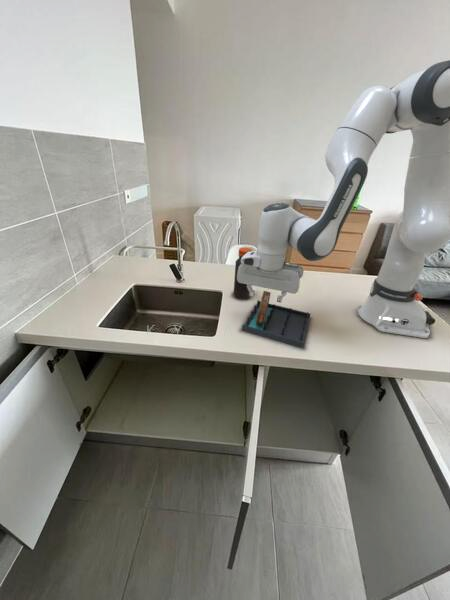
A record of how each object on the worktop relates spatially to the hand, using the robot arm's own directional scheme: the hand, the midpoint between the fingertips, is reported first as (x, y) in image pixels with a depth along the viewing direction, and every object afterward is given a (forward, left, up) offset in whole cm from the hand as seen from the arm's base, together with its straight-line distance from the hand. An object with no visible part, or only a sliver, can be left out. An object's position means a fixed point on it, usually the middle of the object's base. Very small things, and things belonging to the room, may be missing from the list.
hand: (265, 298), depth 82 cm
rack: (-5, 0, -9) cm, 11 cm away
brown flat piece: (0, -1, -8) cm, 8 cm away
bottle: (+13, -13, -9) cm, 21 cm away
